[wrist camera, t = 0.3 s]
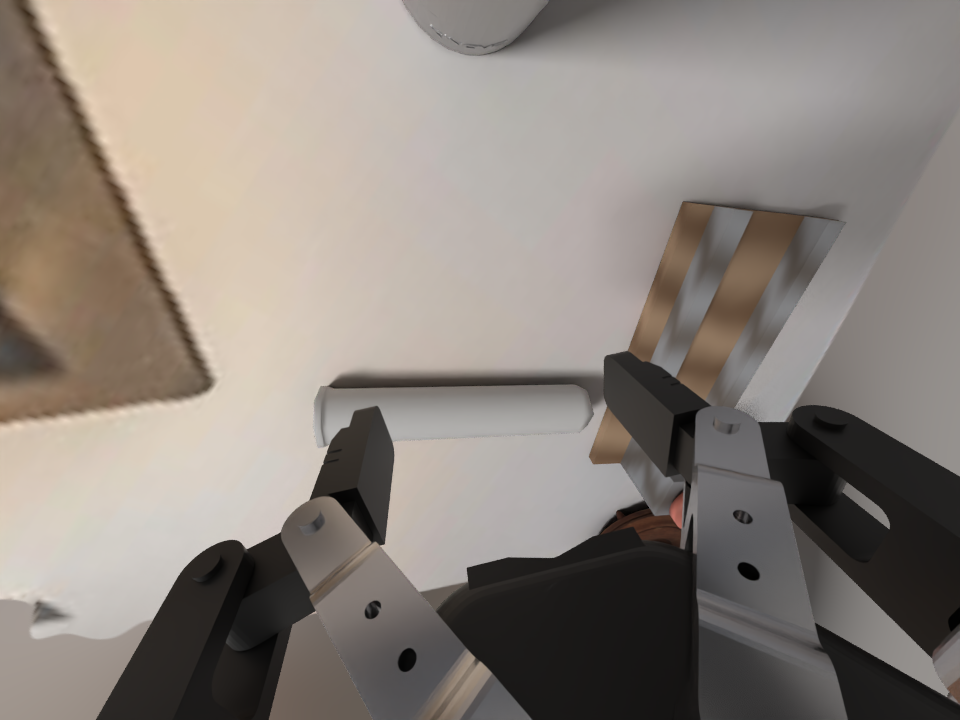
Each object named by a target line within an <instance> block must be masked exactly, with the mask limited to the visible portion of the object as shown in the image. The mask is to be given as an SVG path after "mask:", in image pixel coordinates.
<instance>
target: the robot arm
mask: <svg viewBox="0 0 960 720" xmlns="http://www.w3.org/2000/svg"><path fill="white" fill-rule="evenodd" d="M402 1H403V3H404V5H405V7H406V8H407V10H408V11H409V13H410V14H411V16H412V17H413V18H414V20H415V21H416V23H417V24H418V26H420V27H421V28H422V29H423V30H424V31H425V32H426V33H427V34H428V35H429V36H430V37H431V38H432V39H433V40H434V41H436V42H438V43H439V44H441V45H442V46H444V47H446V48H447V49H449V50H452V51H455V52H458V53H461V54H465V55H483V54H487V53H491V52H496V51H498V50H499V49H501V48H503V47H505V46H507V45H508V44H510V43H512V42H513V41H514V40H515V39H516V38H517V37H518V36H519V35H520V34H521V33H522V32H524V30H525V29H526V28H527V27H528V26H529V24H530V23H531V22H532V21H533V20H534V18H535V17H536V16H537V15H538V13H539V12H540V11H541V10H542V9H543V8H544V7H545V6H546V4H547V3H548V2H549V1H550V0H402ZM604 398H605V401H606V404H607V406H608V408H609V409H610V411H611V412H612V413H613V414H614V416H615V417H616V418H617V419H618V420H619V422H620V423H621V424H622V425H623V427H624V428H625V429H626V430H627V431H628V433H629V434H630V435H631V436H632V437H633V439H634V440H635V441H636V442H637V444H638V445H639V446H640V447H641V448H642V450H643V451H644V452H645V453H646V454H647V456H648V457H649V458H650V459H651V461H652V462H653V463H654V464H655V465H656V467H657V468H658V469H659V470H660V472H661V473H662V474H663V475H664V476H665V478H666V477H670V476H674V475H679V474H681V475H682V476H683V477H684V479H685V482H684V489H683V509H682V528H681V543H680V548H678V547H675V546H673V545H670V544H666V543H661V542H657V541H649V540H641V538H640V537H639V535H638V533H637V532H636V530H635V528H634V527H629V528H625V529H621V530H617V531H613V532H609V533H605V534H601V535H597V536H593V537H591V538H590V539H588V540H586V541H584V542H583V543H581V544H579V545H577V546H576V547H574V548H572V549H570V550H569V551H567V552H565V553H563V554H562V555H560V556H558V557H555V558H511V557H508V558H504V559H500V560H496V561H492V562H488V563H484V564H480V565H476V566H472V567H468V568H467V575H468V583H467V584H465V585H463V586H462V587H460V588H459V589H457V590H456V591H455V592H453V593H452V594H451V595H450V596H449V597H448V598H447V599H446V600H444V601H443V602H442V604H441V605H440V606H439V607H438V608H437V610H436V611H435V610H434V609H433V608H432V607H431V606H430V605H429V603H428V602H427V601H426V600H425V599H424V597H423V596H422V595H421V594H420V593H419V591H418V590H417V589H416V588H415V587H414V586H413V584H412V583H411V582H410V581H409V580H408V579H407V577H406V576H405V575H404V574H403V573H402V571H401V570H400V569H399V568H398V567H397V566H396V564H395V563H394V562H393V561H392V560H391V558H390V557H389V556H388V555H387V554H386V553H385V551H384V550H383V549H382V548H381V547H380V545H384V544H385V537H386V528H387V519H388V510H389V501H390V492H391V482H392V473H393V464H394V447H393V443H392V439H391V437H390V434H389V431H388V429H387V426H386V424H385V421H384V418H383V416H382V413H381V411H380V408H379V407H378V406H373V407H368V408H364V409H359V410H355V411H354V413H353V416H352V419H351V422H350V425H349V427H346V428H341V429H340V431H339V432H338V433H337V434H336V435H335V436H334V438H333V439H332V440H331V443H330V445H329V448H328V451H327V455H326V456H325V459H324V462H323V463H324V465H322V467H321V470H320V473H319V475H318V478H317V481H316V484H315V486H314V489H313V492H312V495H311V497H310V500H309V501H308V502H306V503H304V504H302V505H301V506H300V507H298V508H297V509H296V510H295V511H294V512H293V513H292V514H291V515H290V516H289V517H288V518H287V520H286V521H285V523H284V525H283V527H282V530H281V532H280V533H279V534H277V535H275V536H273V537H271V538H269V539H267V540H265V541H263V542H261V543H259V544H257V545H255V546H253V547H251V548H249V549H246V548H245V547H244V546H243V545H242V543H241V542H239V541H237V540H227V541H223V542H220V543H217V544H215V545H213V546H211V547H209V548H208V549H206V550H205V551H203V552H202V553H200V554H199V555H198V556H197V557H195V558H194V559H193V560H192V561H191V562H190V563H189V564H188V565H187V566H186V567H185V568H184V569H183V571H182V572H181V573H180V575H179V576H178V578H177V580H176V581H175V583H174V585H173V587H172V588H171V590H170V592H169V594H168V595H167V597H166V599H165V600H164V602H163V604H162V606H161V607H160V609H159V611H158V613H157V614H156V616H155V618H154V620H153V621H152V623H151V625H150V627H149V628H148V630H147V632H146V634H145V635H144V637H143V639H142V641H141V642H140V644H139V646H138V648H137V649H136V651H135V653H134V654H133V656H132V658H131V660H130V662H129V663H128V665H127V667H126V668H125V670H124V672H123V674H122V675H121V677H120V679H119V680H118V682H117V684H116V686H115V687H114V689H113V691H112V693H111V695H110V696H109V698H108V700H107V701H106V703H105V705H104V707H103V709H102V710H101V712H100V714H99V716H98V717H97V719H96V720H269V716H270V712H271V708H272V703H273V700H274V696H275V692H276V688H277V684H278V679H279V676H280V672H281V668H282V664H283V660H284V656H285V652H286V648H287V644H288V640H289V635H290V632H291V628H292V624H294V623H296V622H298V621H299V620H301V619H303V618H304V617H306V616H308V615H309V614H311V613H313V612H315V611H316V612H317V614H318V616H319V618H320V620H321V622H322V623H323V625H324V627H325V629H326V631H327V633H328V635H329V637H330V639H331V641H332V642H333V644H334V646H335V648H336V650H337V652H338V654H339V656H340V658H341V660H342V662H343V663H344V665H345V667H346V669H347V671H348V673H349V675H350V677H351V679H352V681H353V682H354V684H355V686H356V688H357V690H358V692H359V694H360V696H361V698H362V700H363V701H364V703H365V705H366V707H367V709H368V711H369V713H370V715H371V717H372V719H373V720H960V476H958V475H956V474H954V473H953V472H951V471H949V470H947V469H946V468H944V467H942V466H940V465H939V464H937V463H935V462H934V461H932V460H930V459H928V458H927V457H925V456H923V455H922V454H920V453H918V452H916V451H914V450H913V449H911V448H909V447H908V446H906V445H904V444H903V443H901V442H899V441H897V440H896V439H894V438H892V437H890V436H889V435H887V434H885V433H884V432H882V431H880V430H878V429H877V428H875V427H873V426H871V425H870V424H868V423H866V422H865V421H863V420H861V419H859V418H858V417H855V416H854V415H852V414H850V413H847V412H844V411H842V410H839V409H835V408H831V407H826V406H818V405H808V406H801V407H798V408H796V409H795V410H794V411H793V413H792V416H791V418H790V421H789V422H757V421H756V420H755V419H754V418H753V417H752V416H750V415H748V414H747V413H745V412H743V411H740V410H737V409H734V408H730V407H724V406H711V405H710V404H709V403H707V402H706V401H705V400H703V399H702V398H701V397H699V396H698V395H697V394H696V393H694V392H693V391H692V390H690V389H689V388H688V387H687V386H685V385H684V384H681V382H680V381H679V380H677V379H676V378H675V377H672V375H671V374H670V373H668V372H667V371H666V370H664V369H663V368H662V367H660V366H657V365H655V364H652V363H650V362H647V361H645V362H642V361H641V360H640V359H638V358H637V357H636V356H635V355H633V354H632V353H631V352H629V351H625V352H620V353H616V354H611V355H607V356H606V357H605V359H604ZM847 482H848V483H849V484H850V485H852V486H853V487H854V488H856V489H857V490H858V491H860V492H861V493H862V494H864V495H865V496H866V497H868V498H869V499H870V500H872V501H873V502H874V503H875V504H877V505H878V506H879V507H880V508H881V509H882V510H883V511H884V512H885V514H886V515H887V517H888V519H889V522H890V530H889V529H888V528H887V527H885V526H884V525H883V524H881V523H880V522H879V521H878V520H877V519H875V518H874V517H873V516H872V515H870V514H869V513H868V512H867V511H865V510H864V509H863V508H861V507H860V506H859V505H858V504H856V503H855V502H854V501H853V500H851V499H850V498H849V497H848V496H846V495H845V494H844V493H842V491H843V489H844V487H845V485H846V483H847ZM791 520H792V521H793V522H794V523H795V524H796V525H797V526H798V527H799V528H800V529H801V530H802V531H803V532H804V533H805V534H806V535H807V536H808V537H809V538H811V539H812V540H813V541H814V542H815V543H816V544H817V545H818V546H819V547H820V548H821V549H822V550H823V551H824V552H825V553H826V554H827V555H828V556H829V557H830V558H831V559H832V560H833V561H834V562H835V563H836V564H837V565H838V566H839V567H840V568H841V569H842V570H843V571H844V572H845V573H846V574H847V575H848V576H849V577H850V578H851V579H852V580H853V581H854V582H855V583H856V584H858V586H859V587H860V588H861V589H862V590H863V591H864V592H865V593H866V594H867V595H868V596H869V597H870V598H871V599H872V600H873V601H874V602H875V603H876V604H877V605H878V606H879V607H880V608H881V609H882V610H883V611H884V612H885V613H886V614H887V615H889V617H890V618H892V619H893V620H894V621H895V622H896V623H897V624H898V625H899V626H900V627H901V628H902V629H903V630H904V631H905V632H906V633H907V634H908V635H909V636H910V637H911V638H912V639H913V640H914V641H915V642H916V643H917V644H918V645H919V646H920V647H921V648H922V649H923V650H924V651H925V652H926V653H927V654H928V655H929V656H930V657H931V658H932V659H933V665H934V668H935V671H936V672H937V675H938V676H939V678H940V680H941V681H942V683H943V684H944V686H945V687H946V688H947V690H948V691H949V693H948V695H947V697H945V696H944V695H942V694H940V693H938V692H937V691H935V690H933V689H931V688H930V687H928V686H926V685H924V684H922V683H921V682H919V681H917V680H915V679H914V678H912V677H910V676H908V675H907V674H905V673H903V672H901V671H900V670H898V669H896V668H894V667H893V666H891V665H889V664H887V663H885V662H884V661H882V660H880V659H878V658H877V657H874V656H873V655H871V654H870V653H868V652H866V651H864V650H862V649H861V648H859V647H857V646H855V645H854V644H852V643H850V642H848V641H846V640H845V639H843V638H841V637H840V636H838V635H836V634H834V633H832V632H831V631H829V630H827V629H825V628H824V627H822V626H820V625H818V624H816V623H815V622H814V618H813V614H812V610H811V605H810V601H809V597H808V592H807V588H806V583H805V579H804V575H803V570H802V566H801V561H800V557H799V553H798V548H797V544H796V540H795V535H794V532H793V527H792V522H791Z"/></svg>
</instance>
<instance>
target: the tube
mask: <svg viewBox="0 0 960 720" xmlns="http://www.w3.org/2000/svg"><path fill="white" fill-rule="evenodd" d="M373 406H378V407H379V408H380V411H381V413H382V416H383V418H384V421H385V424H386V426H387V429H388V431H389V434H390V437H391V439H392V441H411V440H433V439H455V438H476V437H498V436H520V435H542V434H564V433H580V432H581V431H582V430H583V429H584V428H585V427H586V426H587V425H588V423H589V422H590V420H591V418H592V417H593V415H594V412H593V409H592V405H591V402H590V399H589V396H588V393H587V390H585V389H583V388H581V387H579V386H577V385H575V384H570V385H514V386H459V387H403V388H347V389H333V388H332V387H328V386H321V387H320V388H319V391H318V393H317V396H316V398H315V400H314V415H313V430H314V435H315V440H316V444H317V447H318V448H322V447H326V446H328V445H329V444H330V443H331V440H332V439H333V438H334V436H335V435H336V434H337V433H338V432H339V431H340V429H341V428H346V427H349V425H350V422H351V419H352V416H353V413H354V411H355V410H359V409H364V408H368V407H373Z"/></svg>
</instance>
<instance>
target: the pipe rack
mask: <svg viewBox="0 0 960 720" xmlns="http://www.w3.org/2000/svg"><path fill="white" fill-rule="evenodd" d="M845 223H846V222H841V221H839V220H833V219H826V218H818V217H810V216H801V215H792V214H784V213H775V212H767V211H758V210H749V209H741V208H732V207H723V206H715V205H706V204H698V203H689V202H683V203H682V206H681V208H680V211H679V214H678V216H677V219H676V222H675V224H674V227H673V230H672V233H671V235H670V238H669V241H668V243H667V246H666V249H665V252H664V254H663V257H662V260H661V262H660V265H659V268H658V271H657V273H656V276H655V279H654V281H653V284H652V287H651V290H650V292H649V295H648V298H647V300H646V303H645V306H644V309H643V311H642V314H641V317H640V319H639V322H638V325H637V328H636V330H635V333H634V336H633V338H632V341H631V344H630V346H629V349H628V351H629V352H631V353H632V354H633V355H635V356H636V357H637V358H638V359H640V360H641V361H642V362H645V361H647V362H650V363H652V364H655V365H657V366H660V367H662V368H663V369H664V370H666V371H667V372H668V373H670V374H671V375H672V377H675V378H676V379H677V380H679V381H680V382H681V384H684V385H685V386H687V387H688V388H689V389H690V390H692V391H693V392H694V393H696V394H697V395H698V396H699V397H701V398H702V399H703V400H705V401H706V402H707V403H709V404H710V405H711V406H724V407H730V408H734V407H735V406H736V404H737V402H738V401H739V399H740V397H741V396H742V394H743V392H744V391H745V389H746V387H747V386H748V384H749V382H750V381H751V379H752V377H753V376H754V374H755V372H756V371H757V369H758V368H759V366H760V364H761V363H762V361H763V359H764V358H765V356H766V354H767V353H768V351H769V349H770V348H771V346H772V344H773V343H774V341H775V339H776V338H777V336H778V334H779V333H780V331H781V329H782V328H783V326H784V324H785V323H786V321H787V319H788V318H789V316H790V315H791V313H792V311H793V310H794V308H795V306H796V305H797V303H798V301H799V300H800V298H801V296H802V295H803V293H804V291H805V290H806V288H807V286H808V285H809V283H810V281H811V280H812V278H813V276H814V275H815V273H816V271H817V270H818V268H819V266H820V265H821V263H822V262H823V260H824V258H825V257H826V255H827V253H828V252H829V250H830V248H831V247H832V245H833V243H834V242H835V240H836V238H837V237H838V235H839V233H840V232H841V230H842V228H843V227H844V225H845ZM589 458H590V459H591V461H592V463H593V464H611V463H621V465H622V466H623V468H624V469H625V471H626V473H627V474H628V476H629V477H630V479H631V480H632V482H633V483H634V485H635V486H636V488H637V489H638V491H639V493H640V494H641V496H642V497H643V499H644V500H645V502H646V503H647V505H648V506H649V508H650V509H651V511H652V512H653V514H654V516H660V515H670V516H671V517H672V519H673V520H674V522H675V523H676V525H677V526H678V527H679V528H682V509H683V489H684V482H685V479H684V477H683V476H682V475H681V474H679V475H674V476H670V477H666V478H665V476H664V475H663V474H662V473H661V472H660V470H659V469H658V468H657V467H656V465H655V464H654V463H653V462H652V461H651V459H650V458H649V457H648V456H647V454H646V453H645V452H644V451H643V450H642V448H641V447H640V446H639V445H638V444H637V442H636V441H635V440H634V439H633V437H632V436H631V435H630V434H629V433H628V431H627V430H626V429H625V428H624V427H623V425H622V424H621V423H620V422H619V420H618V419H617V418H616V417H615V416H614V414H613V413H612V412H611V411H610V409H609V408H608V406H607V409H606V412H605V414H604V417H603V420H602V422H601V425H600V428H599V431H598V433H597V436H596V439H595V441H594V444H593V447H592V450H591V452H590V455H589Z"/></svg>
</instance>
